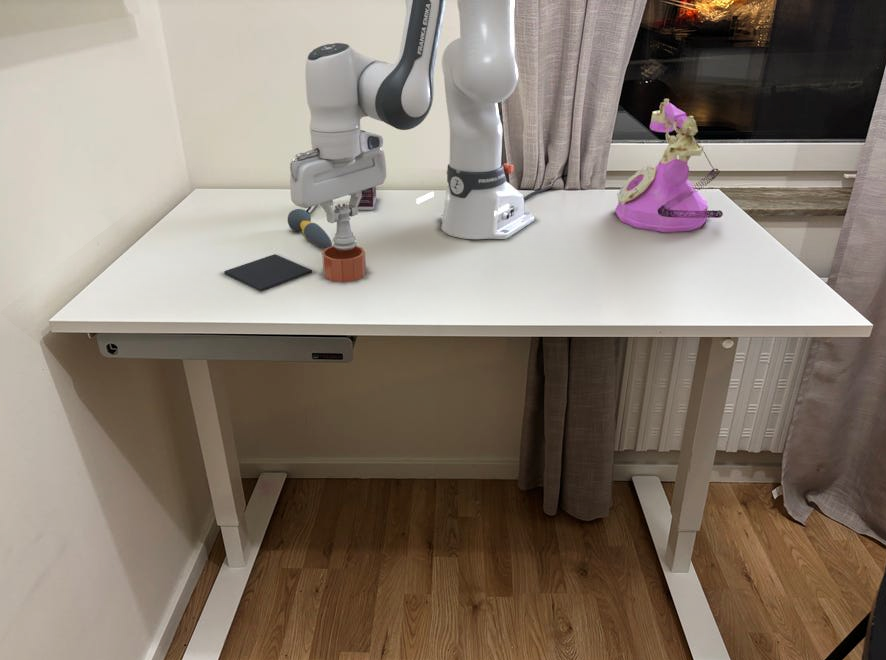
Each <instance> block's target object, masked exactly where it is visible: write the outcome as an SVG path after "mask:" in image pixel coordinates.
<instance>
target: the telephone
mask: <svg viewBox="0 0 886 660" xmlns="http://www.w3.org/2000/svg"><path fill="white" fill-rule="evenodd" d="M694 117H695V116H693V115H689V116H688V115H687V113H686V112H685V111H683V110H681V109H680V108H677V106H676V105H674V104H673V103H671V102H670V99H669V98H664V99H663V102H660V105H659V110H654V111H652V114H651V119H650V124H649V129H650V131H652V132H656V133H665V140H666V142H667V144H668V145H667V147H666V148H665V150H664V152H663V153H662V156H661V158H660V160H659V162H658V164H657V165H656V166H655V167H654V166H653V165H651V164H649V165H647V166H645V167H643V168H641V169H639V170H637V171H636V172H634V173H633V175H632V176H630V177H629V178H627V180H626V181H625V182H624V183H623V185H622V186H621V187H620V189H619V191H618V192H617V201H618V203H617V205H616V208H615V214H616V216H617V218H618V219H619V221H620V222H622V223H624V224H627V225H629V226H631V227H633V228H635V229H636V228H637V229H643V230H648V231H653V232H661V233H679V232H691V231H694V230H697V229H700V228H701V227H702V226H703V225H704V224H705V223H706V222H707V220H708V219H711V218H712V219H718V218H719V219H720V218H722V216H723V215H724V212H723V211H722V210H720V209H719V210H715V209H714V210H708V208H709V206H708V203H707V201H706V199H705V198H704V197H703V196H702V195H701V194H700V193H699V191H700V190H702V189H703V186H704V187H706V186H707V185H708V184H711V183H710V182H712V181H713V180H714V179H715V178H717V176H718V174H720V170H719V169H718V168H714V166H713V165H712V163H711V161H710V160H709V158H708V156H707V154H706V152H705V151H704V146H703V145H701V143H700V141H699V139H698V137H697V133H698V132H699V130H698V125H697V121H696V120H695V119H694ZM673 131H675V133H677V134H676V135H670V133H671V132H673ZM694 136H695V137H696V138H695V137H694ZM702 153H703V154H704V155H705V158H706V159H707V161H708V163H709V165H710V167H711V168H712V169H711V170H710V172H708V174H707V175H706V176H705V177H704V178H701V180H699V181H698V182H696V184H695V185H694V186H693V185H692V183H691V182H690V180H689V176H690V167H689V165H688V161H689V160H690V158H692V157H697V156H701V155H702ZM697 187H698V188H697ZM695 188H697V189H695Z"/></svg>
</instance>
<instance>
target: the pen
mask: <svg viewBox="0 0 886 660" xmlns="http://www.w3.org/2000/svg"><path fill="white" fill-rule="evenodd" d="M316 206H317V205H315V206H312V207H309V208H306V209H305V211H307V212H308V213H309V215H310V214H311V212H312V211H314V209H315V208H316Z"/></svg>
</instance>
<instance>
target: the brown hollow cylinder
mask: <svg viewBox="0 0 886 660" xmlns="http://www.w3.org/2000/svg"><path fill="white" fill-rule="evenodd" d="M321 260H322V261H321V262H322V273H323V277H324V278H325V279H326V280H328V281H330V282H335V283H350V282H351V283H352V282H355V281H358V280H361V279H363V278H364V277H365V276H366V274H367V263H366V250H365V249H364V247H362V246H359V245H356V246H355V247H354V248H353V249H350V250H338V249H336V248H335V247H334V246H333V245H332V246H331V247H328V248H326V249H325V248H324V249H323V250H322V252H321Z"/></svg>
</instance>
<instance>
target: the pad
mask: <svg viewBox="0 0 886 660" xmlns="http://www.w3.org/2000/svg"><path fill="white" fill-rule="evenodd" d="M310 274H313V269H311V268H308V267H307V266H304V265H301V264H298V263H296V262H295V261H292V260H289V259H287V258H285V257H284V256H283V257H282V256H281V255H279V254H276V253H273V254H271V255H268V256H265V257H263V258H259V259H255V260H253V261H250V262H248V263H244V264H242V265H238V266H236V267H233V268H230V269H227V270H224V275H226V276H228V277H230V278H231V279H234V280H235V281H239V282H241V283H243V285H244V284H245V285H247V286H249V287H251V288H252V289H254V290H257V291H259V292H264V291H266V290H269V289H272V288H275V287H278V286H281V285H283V284H285V283H288V282H292V281H294V280H297V279H299V278H302V277H304V276H307V275H310Z"/></svg>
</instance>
